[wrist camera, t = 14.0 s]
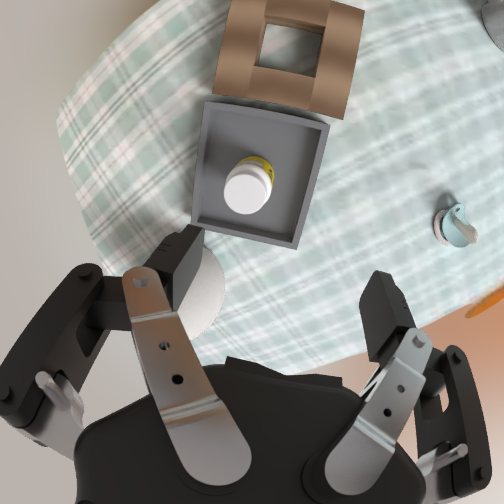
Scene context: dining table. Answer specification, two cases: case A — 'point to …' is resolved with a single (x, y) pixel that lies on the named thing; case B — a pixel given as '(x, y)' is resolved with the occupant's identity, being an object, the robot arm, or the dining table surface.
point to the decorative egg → (203, 296)
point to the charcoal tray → (270, 147)
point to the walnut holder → (281, 82)
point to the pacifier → (455, 227)
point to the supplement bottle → (249, 184)
